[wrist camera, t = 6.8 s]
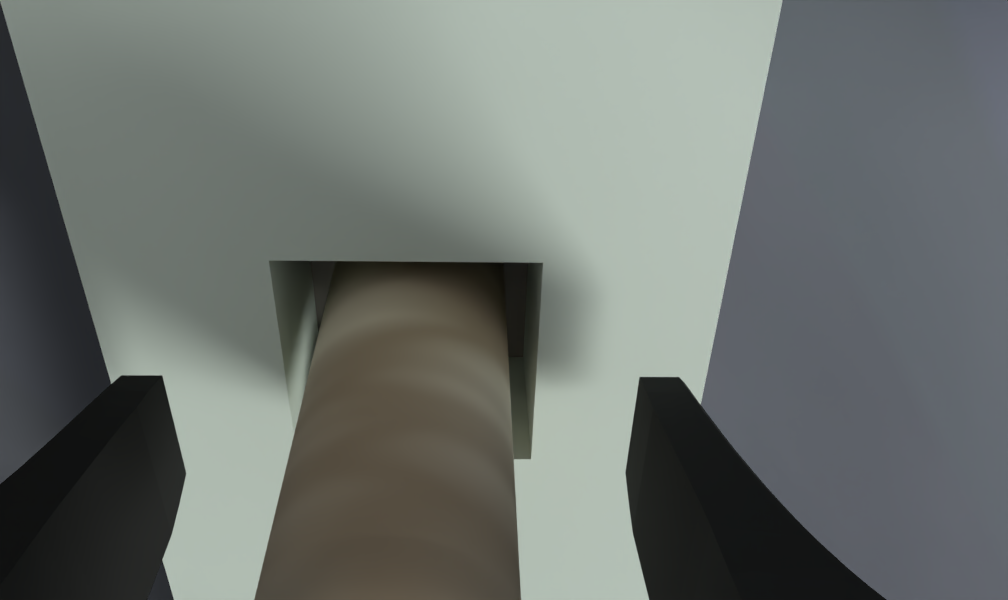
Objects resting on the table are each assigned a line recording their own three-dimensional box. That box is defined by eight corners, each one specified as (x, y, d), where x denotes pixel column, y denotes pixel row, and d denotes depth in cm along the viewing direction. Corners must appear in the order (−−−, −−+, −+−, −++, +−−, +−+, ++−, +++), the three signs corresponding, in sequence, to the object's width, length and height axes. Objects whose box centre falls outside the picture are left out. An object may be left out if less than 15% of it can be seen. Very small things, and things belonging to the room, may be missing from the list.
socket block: (729, -119, 14) (796, -71, 11) (631, 501, 22) (655, 624, 19) (80, -136, 13) (-26, -89, 11) (221, 502, 21) (182, 628, 18)
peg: (509, 197, 16) (534, 540, 10) (497, 335, 18) (510, 703, 12) (335, 187, 16) (240, 530, 10) (339, 328, 18) (262, 697, 11)
